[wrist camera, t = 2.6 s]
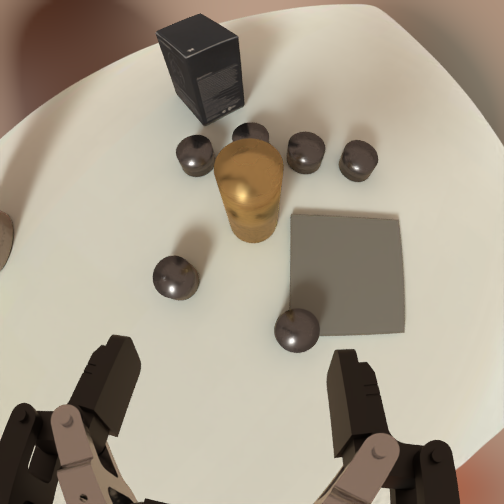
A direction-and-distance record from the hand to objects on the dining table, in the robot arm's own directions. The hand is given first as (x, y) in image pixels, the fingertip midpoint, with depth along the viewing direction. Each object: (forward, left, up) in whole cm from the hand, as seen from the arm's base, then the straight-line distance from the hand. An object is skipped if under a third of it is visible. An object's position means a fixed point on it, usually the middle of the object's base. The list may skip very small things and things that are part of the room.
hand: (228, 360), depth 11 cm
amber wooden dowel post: (0, +11, -15) cm, 18 cm away
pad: (+9, +6, -15) cm, 18 cm away
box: (-6, +27, -15) cm, 31 cm away
